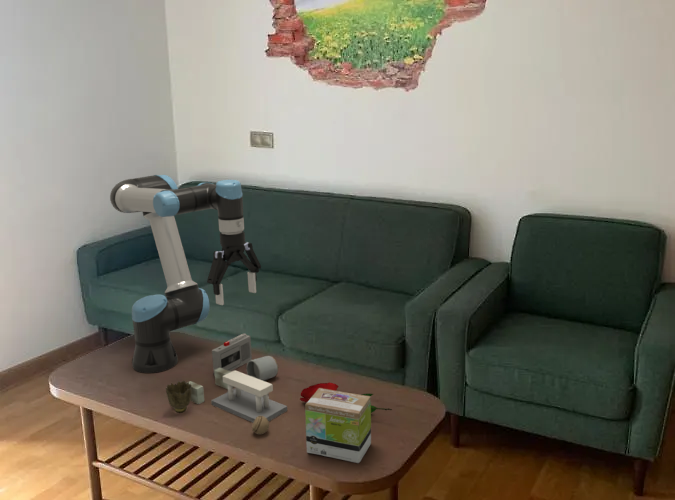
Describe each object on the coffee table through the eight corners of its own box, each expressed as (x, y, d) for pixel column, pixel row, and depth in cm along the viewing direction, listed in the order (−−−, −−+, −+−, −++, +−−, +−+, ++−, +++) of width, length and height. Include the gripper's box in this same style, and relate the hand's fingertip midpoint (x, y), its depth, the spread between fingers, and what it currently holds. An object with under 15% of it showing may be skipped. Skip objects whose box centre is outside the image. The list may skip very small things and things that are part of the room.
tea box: (305, 454, 182) (303, 403, 178) (320, 435, 191) (318, 386, 187) (360, 464, 177) (358, 412, 173) (372, 444, 186) (371, 394, 182)
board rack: (185, 398, 214) (184, 383, 213) (221, 381, 225) (220, 367, 223) (198, 404, 210) (196, 389, 209) (233, 386, 221) (232, 372, 220)
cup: (171, 419, 202) (169, 394, 200) (165, 408, 208) (162, 384, 206) (196, 413, 205) (194, 388, 203) (189, 402, 211) (187, 378, 209)
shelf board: (272, 390, 202) (272, 384, 202) (260, 397, 199) (260, 390, 198) (235, 376, 212) (234, 370, 212) (223, 382, 209) (222, 376, 208)
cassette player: (219, 377, 228) (217, 349, 226) (213, 375, 230) (211, 347, 227) (251, 360, 240) (250, 333, 238) (246, 358, 242) (244, 331, 239)
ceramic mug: (280, 378, 226) (279, 356, 224) (260, 386, 220) (259, 364, 219) (260, 369, 233) (259, 348, 231) (240, 377, 228) (239, 355, 226)
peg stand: (211, 404, 210) (209, 383, 208) (238, 391, 218) (237, 370, 216) (260, 426, 197) (259, 403, 195) (287, 410, 205) (286, 389, 203)
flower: (394, 383, 195) (301, 372, 209) (383, 411, 189) (289, 398, 203) (401, 403, 201) (311, 391, 215) (392, 430, 195) (299, 416, 209)
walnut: (260, 426, 197) (259, 410, 195) (273, 432, 194) (272, 415, 192) (247, 433, 193) (246, 417, 192) (260, 439, 190) (259, 423, 189)
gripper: (208, 242, 199) (213, 312, 205) (269, 225, 217) (273, 289, 223) (191, 238, 204) (197, 306, 209) (253, 222, 222) (257, 285, 228)
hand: (236, 298), depth 216 cm, fingers open, 13 cm apart
